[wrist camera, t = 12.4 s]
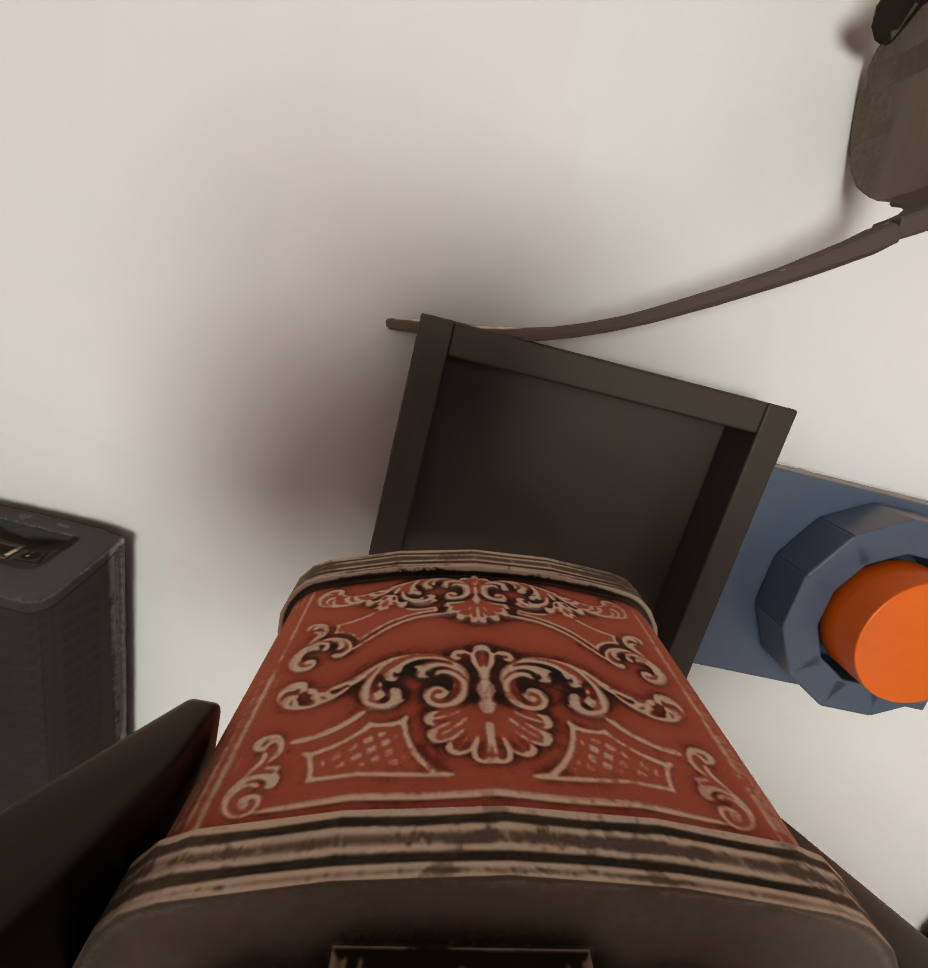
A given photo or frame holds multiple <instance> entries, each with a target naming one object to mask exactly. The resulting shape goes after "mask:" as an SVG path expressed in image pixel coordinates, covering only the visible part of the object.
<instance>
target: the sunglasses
mask: <svg viewBox="0 0 928 968" xmlns="http://www.w3.org/2000/svg"><path fill="white" fill-rule="evenodd" d="M871 28H872V32H873V36H874V40H875V41H876V42H878V43H879V44H880V45H879V47H878V49H877V50H876V52H875V54H874V56H873V58H872V60H871V63H870V65H869V68H868V70H867V72H866V75H865V77H864V80H863V83H862V86H861V89H860V92H859V95H858V99H857V104H856V109H855V113H854V118H853V123H852V131H851V144H850V166H851V174H852V177H853V179H854V182H855V184H856V187H857V188H858V189H859V190H860V191H862V192H863V193H864V194H865V195H867V196H868V197H869V198H872V199H874V200H877V201H884V202H890V205H891V206H892V207H899V208H902V209H903V211H902V212H901V213H900V214H898V215H896V216H894V217H892V218H889V219H887V220H885V221H882V222H879V223H877V224H874V225H873V226H872V228H870V229H867V230H864V231H862V232H860V233H858V234H856V235H854V236H852V237H850V238H848V239H846V240H844V241H842V242H840V243H837V244H835V245H833V246H830V247H828V248H825V249H823V250H820V251H818V252H816V253H813V254H811V255H808V256H806V257H804V258H801V259H799V260H796V261H794V262H791V263H789V264H787V265H784V266H782V267H779V268H777V269H774V270H771V271H768V272H765V273H762V274H759V275H756V276H753V277H750V278H747V279H744V280H740V281H737V282H734V283H731V284H728V285H725V286H722V287H719V288H716V289H712V290H709V291H706V292H703V293H699V294H696V295H693V296H690V297H686V298H683V299H680V300H677V301H673V302H670V303H667V304H664V305H660V306H657V307H654V308H650V309H647V310H643V311H639V312H635V313H632V314H628V315H624V316H619V317H614V318H608V319H603V320H598V321H593V322H588V323H580V324H572V325H564V326H556V327H537V328H516V327H494V326H489V327H488V326H475V327H479V328H482V329H486V330H490V331H494V332H498V333H502V334H506V335H509V336H513V337H516V338H519V339H522V340H524V341H543V340H554V339H566V338H574V337H581V336H587V335H594V334H600V333H607V332H612V331H617V330H621V329H626V328H631V327H636V326H640V325H645V324H650V323H654V322H657V321H661V320H665V319H669V318H672V317H676V316H680V315H684V314H687V313H691V312H695V311H698V310H702V309H706V308H710V307H713V306H717V305H720V304H723V303H727V302H730V301H733V300H737V299H740V298H743V297H747V296H750V295H753V294H757V293H760V292H763V291H767V290H770V289H773V288H776V287H780V286H783V285H786V284H789V283H792V282H795V281H798V280H801V279H805V278H808V277H811V276H814V275H817V274H820V273H822V272H825V271H828V270H831V269H834V268H837V267H839V266H842V265H845V264H848V263H851V262H853V261H856V260H859V259H862V258H865V257H867V256H870V255H873V254H876V253H878V252H879V251H881V250H883V249H885V248H887V247H889V246H891V245H893V244H895V243H897V242H898V241H899V239H902V238H906V237H909V236H912V235H915V234H919V233H922V232H925V231H928V0H880V1H879V3H878V4H877V6H876V9H875V13H874V17H873V21H872V25H871ZM419 322H420V319H406V318H390V319H387V321H386V326H387V327H388V328H389V329H391V330H399V331H407V332H415V333H417V331H418V326H419ZM471 326H474V325H471Z"/></svg>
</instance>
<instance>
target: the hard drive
mask: <svg viewBox="0 0 928 968" xmlns="http://www.w3.org/2000/svg"><path fill="white" fill-rule="evenodd" d="M124 541H125V538H124V537H122V536H117V535H113V534H112V533H111V532H108V531H106V530H103V529H100V528H97V527H91V526H87V525H84V524H80V523H75V522H72V521H67V520H64V519H59V518H55V517H50V516H46V515H42V514H37V513H32V512H28V511H23V510H18V509H13V508H9V507H5V506H0V812H1V811H3V810H4V809H6V808H8V807H9V806H11V805H13V804H14V803H16V802H18V801H19V800H21V799H23V798H24V797H26V796H28V795H29V794H31V793H33V792H34V791H36V790H38V789H39V788H41V787H43V786H45V785H46V784H48V783H50V782H51V781H53V780H55V779H56V778H58V777H60V776H61V775H63V774H65V773H66V772H68V771H70V770H71V769H73V768H75V767H76V766H78V765H80V764H82V763H83V762H85V761H87V760H88V759H90V758H92V757H93V756H95V755H97V754H98V753H100V752H102V751H103V750H105V749H107V748H108V747H110V746H112V745H113V744H115V743H117V742H118V741H120V740H122V739H124V738H125V737H126V736H127V732H126V722H127V720H126V715H127V710H126V642H125V639H126V615H125V543H124Z"/></svg>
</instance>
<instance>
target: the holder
mask: <svg viewBox="0 0 928 968" xmlns="http://www.w3.org/2000/svg"><path fill="white" fill-rule="evenodd" d="M796 414H797V411H796V410H794V409H790V408H786V407H782V406H779V405H775V404H771V403H767V402H763V401H759V400H756V399H752V398H748V397H744V396H740V395H736V394H732V393H729V392H725V391H721V390H717V389H713V388H709V387H706V386H702V385H698V384H694V383H690V382H686V381H682V380H679V379H675V378H671V377H667V376H663V375H659V374H656V373H652V372H648V371H644V370H640V369H636V368H632V367H629V366H625V365H621V364H617V363H613V362H609V361H606V360H602V359H598V358H594V357H590V356H586V355H582V354H579V353H575V352H571V351H567V350H563V349H559V348H556V347H552V346H548V345H544V344H540V343H536V342H532V341H524V340H522V339H519V338H516V337H513V336H509V335H506V334H502V333H498V332H494V331H490V330H486V329H482V328H479V327H475V326H471V325H467V324H463V323H459V322H455V321H452V320H448V319H444V318H440V317H436V316H432V315H429V314H425V313H422V314H421V317H420V322H419V326H418V331H417V336H416V340H415V345H414V349H413V354H412V359H411V363H410V368H409V372H408V377H407V381H406V386H405V391H404V395H403V400H402V404H401V409H400V413H399V418H398V423H397V427H396V432H395V436H394V441H393V446H392V450H391V455H390V459H389V464H388V468H387V473H386V478H385V482H384V487H383V491H382V496H381V501H380V505H379V510H378V514H377V519H376V523H375V528H374V533H373V537H372V542H371V546H370V551H369V555H374V554H381V553H389V552H397V551H429V550H481V551H490V552H499V553H508V554H517V555H526V556H534V557H543V558H549V559H553V560H558V561H562V562H566V563H571V564H575V565H579V566H584V567H588V568H592V569H597V570H601V571H605V572H610V573H613V574H615V575H617V576H619V577H621V578H624V579H626V580H627V581H628V582H629V583H630V584H631V585H632V587H633V588H634V589H635V590H636V591H637V592H638V593H639V595H640V596H641V598H642V599H643V600H644V602H645V603H646V605H647V606H648V607H649V609H650V610H651V612H652V615H653V617H654V620H655V623H656V626H657V636H658V638H659V639H660V641H661V642H662V644H663V645H664V647H665V648H666V650H667V651H668V653H669V654H670V656H671V657H672V658H673V660H674V661H675V663H676V664H677V666H678V667H679V669H680V670H681V672H682V673H683V675H684V676H685V678H687V675H688V673H689V671H690V668H691V666H692V663H693V661H694V659H695V656H696V654H697V651H698V649H699V647H700V644H701V642H702V639H703V637H704V635H705V632H706V630H707V627H708V625H709V623H710V620H711V618H712V615H713V613H714V611H715V608H716V606H717V603H718V601H719V599H720V596H721V594H722V591H723V589H724V587H725V584H726V582H727V579H728V577H729V575H730V572H731V570H732V567H733V565H734V563H735V560H736V558H737V555H738V553H739V551H740V548H741V546H742V543H743V541H744V539H745V536H746V534H747V531H748V529H749V527H750V524H751V522H752V519H753V517H754V515H755V512H756V510H757V507H758V505H759V503H760V500H761V498H762V495H763V493H764V491H765V488H766V486H767V483H768V481H769V479H770V476H771V474H772V471H773V469H774V467H775V464H776V462H777V459H778V457H779V455H780V452H781V450H782V447H783V445H784V443H785V440H786V438H787V435H788V433H789V431H790V428H791V426H792V423H793V421H794V419H795V416H796Z"/></svg>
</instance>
